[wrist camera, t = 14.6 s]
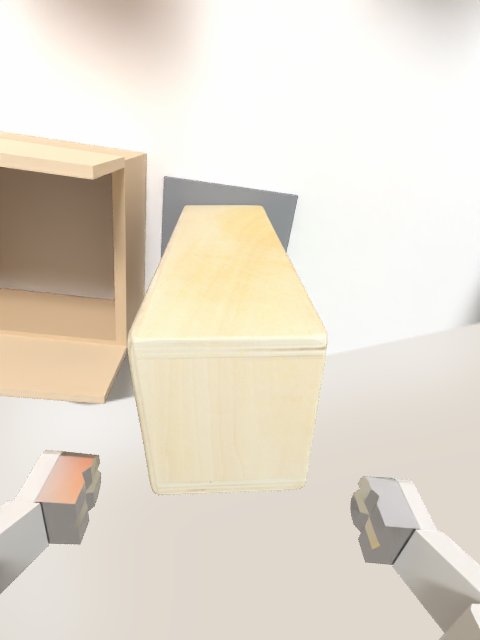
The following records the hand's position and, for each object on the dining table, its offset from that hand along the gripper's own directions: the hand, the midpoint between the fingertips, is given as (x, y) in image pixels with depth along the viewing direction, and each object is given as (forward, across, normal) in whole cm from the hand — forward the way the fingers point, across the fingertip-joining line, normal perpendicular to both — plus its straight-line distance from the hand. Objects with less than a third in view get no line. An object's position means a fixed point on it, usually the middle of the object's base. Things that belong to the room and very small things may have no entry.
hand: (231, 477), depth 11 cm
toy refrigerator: (+23, 0, 0) cm, 23 cm away
